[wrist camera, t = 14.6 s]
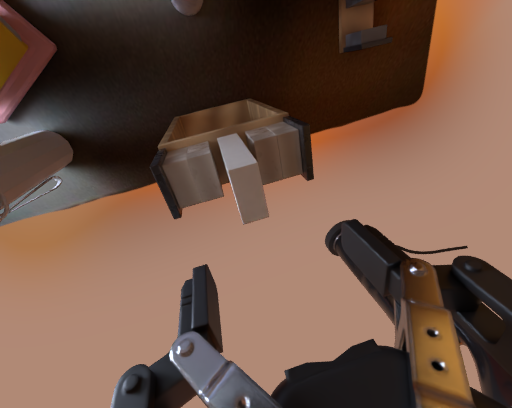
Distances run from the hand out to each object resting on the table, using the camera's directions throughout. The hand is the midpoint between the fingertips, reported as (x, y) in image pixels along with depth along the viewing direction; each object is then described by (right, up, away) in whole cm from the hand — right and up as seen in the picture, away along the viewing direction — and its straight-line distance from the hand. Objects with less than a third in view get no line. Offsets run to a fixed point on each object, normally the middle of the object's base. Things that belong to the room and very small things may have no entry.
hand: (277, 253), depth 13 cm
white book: (-4, +9, +15) cm, 18 cm away
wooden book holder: (-4, +9, +16) cm, 19 cm away
